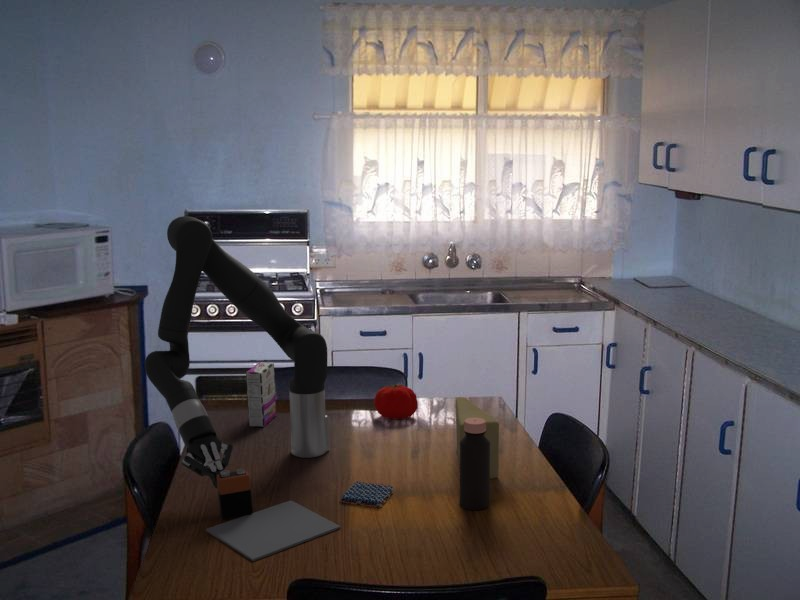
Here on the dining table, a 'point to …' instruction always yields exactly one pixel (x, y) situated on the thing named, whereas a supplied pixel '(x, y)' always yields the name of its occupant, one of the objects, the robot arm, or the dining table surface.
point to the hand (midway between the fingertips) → (222, 487)
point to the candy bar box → (261, 394)
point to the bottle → (474, 465)
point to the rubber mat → (272, 530)
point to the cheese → (492, 433)
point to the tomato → (396, 402)
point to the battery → (234, 493)
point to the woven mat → (367, 494)
